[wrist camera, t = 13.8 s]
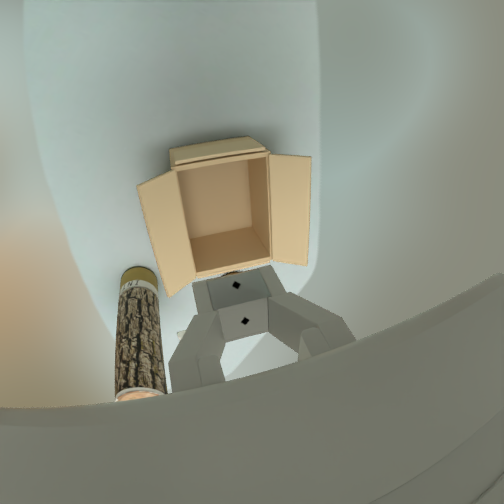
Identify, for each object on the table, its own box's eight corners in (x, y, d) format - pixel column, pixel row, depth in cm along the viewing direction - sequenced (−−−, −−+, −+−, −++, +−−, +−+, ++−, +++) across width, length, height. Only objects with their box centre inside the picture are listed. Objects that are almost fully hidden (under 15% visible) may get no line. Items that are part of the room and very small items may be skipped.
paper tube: (164, 275, 52) (179, 399, 32) (145, 300, 54) (153, 419, 34) (132, 258, 48) (128, 384, 28) (114, 285, 50) (107, 408, 30)
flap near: (172, 169, 32) (136, 185, 29) (175, 170, 32) (138, 186, 29) (194, 276, 41) (167, 296, 38) (196, 277, 41) (169, 297, 38)
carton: (168, 144, 40) (169, 162, 32) (248, 132, 42) (271, 146, 34) (186, 244, 50) (193, 280, 42) (255, 229, 52) (275, 262, 44)
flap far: (273, 258, 43) (307, 264, 42) (272, 260, 43) (306, 266, 42) (270, 153, 35) (311, 156, 33) (268, 154, 34) (310, 157, 33)
